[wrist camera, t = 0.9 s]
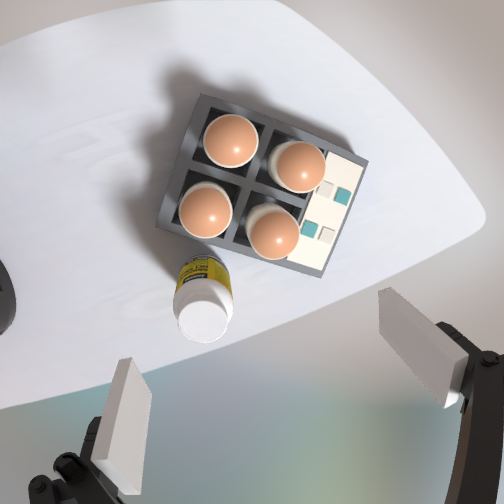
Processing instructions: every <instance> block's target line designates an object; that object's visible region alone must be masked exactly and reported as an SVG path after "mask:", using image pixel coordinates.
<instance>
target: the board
mask: <svg viewBox="0 0 504 504" xmlns="http://www.w3.org/2000/svg"><path fill="white" fill-rule="evenodd" d="M211 110H213V111H216V112H219V113H222V114H225V115H226V114H236V115H240V116H242V117H244V118H246V119H248V120H249V121H250V122H251V123H252V124H254V125H256V126H259V127H261V129H260V131H259V134H258V148H257V151H256V153H255V155H254V156H253V158H252V159H251V160H250V161H249V162H248V163H247V166H246V169H245V171H244V174H243V176H242V175H239V174H236V173H233V172H230V171H227V170H224V169H221V168H218V167H215V166H212V165H209V164H206V163H203V162H200V161H197V160H194V159H193V157H194V154H195V152H196V149H197V146H198V143H199V141H200V138H201V135H202V132H203V130H204V127H205V124H206V122H207V119H208V116H209V114H210V111H211ZM273 132H275V133H277V134H280V135H282V136H285V137H287V138H290V139H292V140H295V141H305V142H309V143H311V144H313V145H315V146H316V147H317V148H319V149H320V151H321V152H322V154H323V155H324V158H325V161H326V174H325V177H324V179H323V181H322V182H321V184H320V185H319V186H318V187H317V188H315V189H314V190H312V191H310V192H307V193H299V196H297V195H294V194H292V193H289V192H286V191H284V190H281V189H278V188H275V187H273V186H270V185H267V184H264V183H262V182H259V181H256V180H255V179H256V176H257V173H258V171H259V168H260V165H261V163H262V160H263V157H264V155H265V152H266V149H267V147H268V144H269V141H270V139H271V136H272V134H273ZM368 162H369V161H368V160H366V159H364V158H362V157H360V156H358V155H355V154H353V153H351V152H349V151H347V150H345V149H343V148H341V147H339V146H336V145H334V144H332V143H330V142H328V141H325V140H323V139H321V138H319V137H316V136H314V135H312V134H310V133H307V132H305V131H303V130H300V129H298V128H295V127H293V126H290V125H288V124H286V123H283V122H281V121H278V120H275V119H273V118H270V117H268V116H265V115H262V114H260V113H257V112H254V111H252V110H249V109H246V108H243V107H241V106H238V105H235V104H232V103H229V102H226V101H223V100H220V99H217V98H214V97H211V96H208V95H205V94H200V97H199V99H198V102H197V104H196V107H195V109H194V112H193V115H192V117H191V120H190V123H189V125H188V128H187V131H186V134H185V136H184V139H183V142H182V145H181V148H180V151H179V153H178V156H177V159H176V162H175V165H174V168H173V171H172V174H171V177H170V180H169V184H168V187H167V190H166V193H165V196H164V200H163V203H162V206H161V209H160V213H159V216H158V220H157V223H156V226H155V227H156V228H160V229H163V230H166V231H169V232H172V233H176V234H179V235H182V236H185V237H188V238H192V239H195V240H198V241H201V242H204V243H208V244H211V245H214V246H217V247H220V248H224V249H227V250H230V251H233V252H237V253H240V254H243V255H246V256H249V257H253V258H256V259H259V260H262V261H266V262H269V263H272V264H275V265H278V266H282V267H285V268H288V269H291V270H295V271H298V272H301V273H304V274H308V275H311V276H314V277H317V278H322V275H323V273H324V271H325V269H326V266H327V264H328V262H329V259H330V257H331V255H332V252H333V250H334V248H335V245H336V243H337V241H338V238H339V236H340V233H341V231H342V229H343V226H344V224H345V221H346V219H347V216H348V214H349V211H350V209H351V206H352V204H353V201H354V199H355V196H356V194H357V191H358V189H359V186H360V183H361V181H362V178H363V175H364V173H365V170H366V167H367V165H368ZM189 169H190V170H193V171H196V172H199V173H202V174H205V175H208V176H211V177H214V178H217V179H220V180H223V181H226V182H229V183H232V184H235V185H238V186H239V188H238V191H237V193H236V196H235V199H234V202H233V204H232V219H231V222H230V224H229V226H228V227H227V228H226V230H225V231H224V232H222V233H221V234H220V235H218V236H215V237H212V238H199V237H195V236H193V235H191V234H190V233H189V232H187V231H186V230H185V228H184V227H183V225H182V224H181V221H180V219H179V218H176V217H174V215H175V212H176V208H177V205H178V202H179V199H180V196H181V193H182V190H183V187H184V184H185V181H186V178H187V175H188V172H189ZM251 190H253V191H255V192H258V193H261V194H264V195H267V196H269V197H272V198H275V199H278V200H281V201H283V202H286V203H289V204H292V205H294V209H293V211H292V214H291V215H292V216H293V217H294V218H295V219H296V221H297V222H298V225H299V228H300V239H299V243H298V245H297V247H296V248H295V250H294V251H293V252H292V253H291V254H289V255H288V256H286V257H284V258H282V259H277V260H270V259H266V258H263V257H261V256H260V255H258V254H257V253H256V252H255V251H254V249H253V248H252V246H251V244H250V241H248V240H245V239H242V238H239V237H236V236H235V233H236V231H237V228H238V225H239V222H240V220H241V217H242V214H243V211H244V209H245V206H246V203H247V200H248V198H249V195H250V192H251Z"/></svg>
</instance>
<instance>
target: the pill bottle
mask: <svg viewBox="0 0 504 504" xmlns="http://www.w3.org/2000/svg"><path fill="white" fill-rule="evenodd" d="M173 310H174V314H175V316H176V318H177V320H178V326H179V329H180V331H181V332H182V334H183V335H184V336H185V337H186V338H188V339H190V340H192V341H194V342H198V343H209V342H213V341H215V340H217V339H219V338H220V337H221V336H222V335H223V334H224V333H225V331H226V329H227V325H228V322H229V320H230V319H231V317H232V314H233V297H232V290H231V283H230V276H229V272H228V270H227V268H226V266H225V265H224V263H223V262H222V261H221V260H219V259H218V258H216V257H214V256H210V255H198V256H195V257H193V258H191V259H189V260H188V261H187V262H186V263H185V264H184V265H183V267H182V268H181V271H180V274H179V278H178V282H177V286H176V291H175V295H174V300H173Z"/></svg>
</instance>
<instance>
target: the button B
mask: <svg viewBox="0 0 504 504" xmlns="http://www.w3.org/2000/svg"><path fill="white" fill-rule="evenodd" d="M203 145H204V149H205V152H206V154H207V156H208V157H209V158H210V159H211V160H212V161H213V162H214V163H216V164H217V165H219V166H222V167H226V168H235V167H239V166H242V165H244V164H246V163H247V162H249V161H250V160H251V159H252V158H253V156H254V155H255V153H256V151H257V148H258V134H257V131H256V129H255V127H254V125H253V124H252V123H251V122H250V121H249V120H248V119H246V118H244V117H242V116H240V115H236V114H226V115H222V116H220V117H218V118H216V119H215V120H213V121H212V122H211V123H210V124H209V125H208V127H207V129H206V131H205V133H204V138H203Z"/></svg>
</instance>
